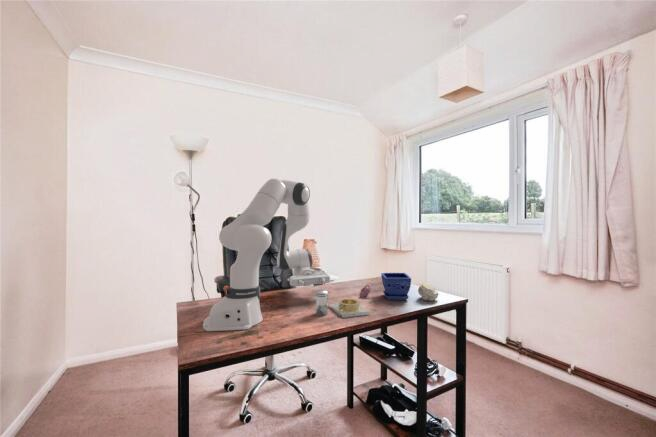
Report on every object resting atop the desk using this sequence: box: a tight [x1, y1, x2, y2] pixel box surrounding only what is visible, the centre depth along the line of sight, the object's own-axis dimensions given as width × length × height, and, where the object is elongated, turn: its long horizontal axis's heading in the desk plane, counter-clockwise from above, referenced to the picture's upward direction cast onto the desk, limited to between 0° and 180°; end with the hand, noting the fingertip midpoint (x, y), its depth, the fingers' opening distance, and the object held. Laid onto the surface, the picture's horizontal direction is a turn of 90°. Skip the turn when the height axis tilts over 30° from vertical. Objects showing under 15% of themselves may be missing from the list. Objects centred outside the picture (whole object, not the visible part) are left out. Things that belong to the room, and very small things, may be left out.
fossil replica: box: [417, 282, 439, 302], centre depth 145 cm, size 12×8×10 cm
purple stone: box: [358, 283, 372, 298], centre depth 152 cm, size 10×5×7 cm, turn 169°
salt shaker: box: [315, 288, 329, 317], centre depth 123 cm, size 5×5×10 cm
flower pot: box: [381, 272, 412, 301], centre depth 148 cm, size 13×13×12 cm
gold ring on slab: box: [329, 298, 371, 319], centre depth 128 cm, size 13×15×4 cm
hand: (314, 283), depth 135 cm, fingers open, 8 cm apart
